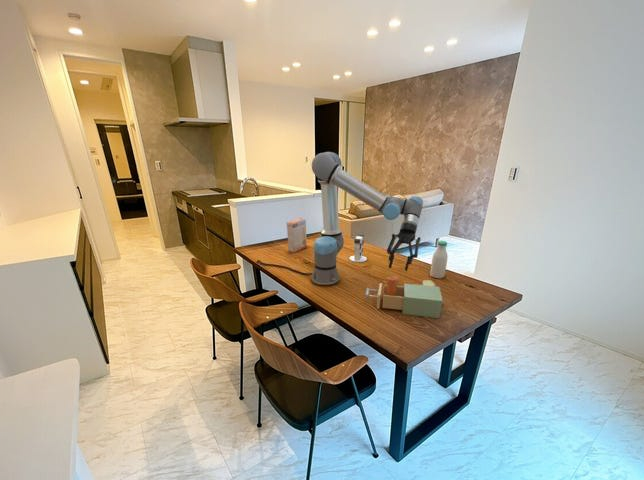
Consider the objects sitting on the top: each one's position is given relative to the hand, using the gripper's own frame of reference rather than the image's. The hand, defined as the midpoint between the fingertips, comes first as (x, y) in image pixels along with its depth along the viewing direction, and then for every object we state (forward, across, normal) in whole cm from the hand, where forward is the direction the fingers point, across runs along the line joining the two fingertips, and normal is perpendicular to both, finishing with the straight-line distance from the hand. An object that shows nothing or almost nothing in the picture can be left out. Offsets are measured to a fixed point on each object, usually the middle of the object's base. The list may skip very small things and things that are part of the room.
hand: (397, 268), depth 139 cm
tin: (+16, 0, -3) cm, 16 cm away
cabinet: (+15, -13, -7) cm, 21 cm away
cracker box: (-17, +79, -39) cm, 90 cm away
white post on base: (-17, +34, -40) cm, 55 cm away
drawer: (+16, +1, -4) cm, 17 cm away
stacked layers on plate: (+3, -13, -19) cm, 23 cm away
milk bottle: (-14, -15, -36) cm, 41 cm away
